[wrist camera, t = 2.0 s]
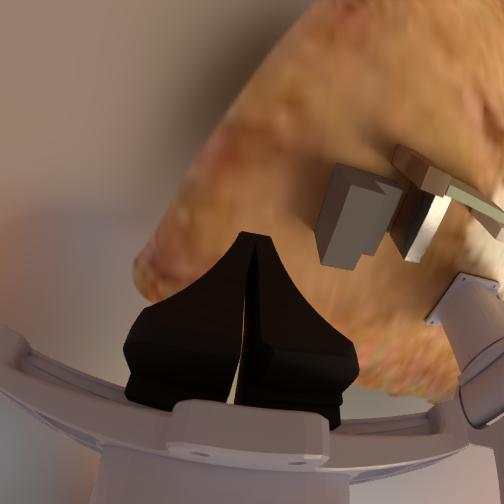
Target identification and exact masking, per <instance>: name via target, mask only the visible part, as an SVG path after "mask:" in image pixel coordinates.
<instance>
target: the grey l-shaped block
mask: <svg viewBox="0 0 504 504" xmlns="http://www.w3.org/2000/svg"><path fill="white" fill-rule="evenodd" d="M451 199H455V200H457V201H459V202H461V203H463V204H465V205H467V206H470V207H472V208H474V209H476V210H478V211H480V212H482V213H484V214H486V215H488V216H490V217H491V218H493V219H495V220H497V221H499V222H501V223H503V224H504V211H503V210H502V209H501V208H499V207H498V206H497V205H496V204H495V203H494V202H493V201H491V200H490V199H489V198H488V197H487V196H485V195H484V194H483V193H482V192H480V191H478V190H476V189H475V188H473V187H471V186H469V185H467V184H465V183H463V182H461V181H459V180H458V179H456V178H454V177H452V178H451V180H450V183H449V185H448V187H447V190H446V192H445V194H444V197H443V198H441V197H439V196H436V195H434V194H431V193H429V192H426V191H424V190H421V189H420V188H419V187H418V186H416V185H415V184H414V183H412V185H411V188H410V190H409V193H408V195H407V197H406V200H405V202H404V205H403V207H402V209H401V211H400V214H399V216H398V218H397V220H396V223H395V225H394V227H393V229H392V231H391V233H390V236H391V238H392V240H393V241H394V243H395V245H396V246H397V248H398V250H399V252H400V253H401V255H402V257H403V259H404V260H407V261H411V262H415V263H419V262H420V260H421V258H422V257H423V255H424V253H425V251H426V249H427V247H428V246H429V244H430V242H431V240H432V238H433V236H434V234H435V232H436V230H437V228H438V226H439V224H440V222H441V220H442V218H443V216H444V214H445V212H446V210H447V208H448V205H449V203H450V201H451Z"/></svg>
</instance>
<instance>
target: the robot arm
mask: <svg viewBox="0 0 504 504" xmlns="http://www.w3.org/2000/svg"><path fill="white" fill-rule="evenodd" d="M499 288H500V283H499V282H495V281H491V280H488V279H484V278H480V277H476V276H472V275H468V274H464V273H460V274H458V275H457V277H456V279H455V280H454V282H453V283H452V285H451V286H450V288H449V289H448V290H447V292H446V293H445V295H444V296H443V298H442V299H441V300H440V302H439V303H438V305H437V306H436V307H435V309H434V310H433V311H432V313H431V314H430V315H429V316H428V318H427V319H426V321H425V323H426V325H436V326H443V329H444V331H445V333H446V336H447V338H448V340H449V343H450V345H451V348H452V350H453V353H454V355H455V358H456V360H457V363H458V366H459V368H460V371H461V374H460V375H459V376H458V377H457V378H458V381H459V385H458V386H457V387H456V389H455V394H454V400H451V401H445V402H441V403H439V404H436V405H435V406H433V407H432V408H431V409H429V410H428V411H427V412H422V413H416V414H409V415H401V416H392V417H382V418H369V419H349V420H348V419H347V420H341V419H340V407H339V406H340V405H342V403H343V399H342V393H343V392H344V391H345V390H346V389H347V388H348V387H349V386H350V385H351V384H352V383H353V382H354V381H355V379H356V378H357V376H358V375H359V370H360V369H359V364H358V358H357V354H356V351H355V348H354V345H353V342H352V341H350V340H349V339H348V338H346V337H345V336H344V335H342V334H341V333H340V332H338V331H337V330H336V329H335V328H333V327H332V326H331V325H330V324H329V323H328V322H327V321H326V320H325V319H323V318H322V317H321V316H320V315H319V314H318V313H317V312H316V311H315V309H314V308H313V307H312V306H311V305H310V304H309V303H308V302H307V301H306V299H305V298H304V297H303V296H302V294H301V293H300V292H299V290H298V289H297V288H296V286H295V285H294V283H293V281H292V280H291V278H290V277H289V275H288V273H287V271H286V270H285V268H284V266H283V264H282V262H281V260H280V258H279V256H278V253H277V251H276V249H275V246H274V244H273V241H272V239H271V237H270V236H265V235H260V234H255V233H249V232H244V231H242V232H240V233H239V235H238V237H237V239H236V240H235V242H234V243H233V245H232V246H231V247H230V248H229V250H228V251H227V252H226V253H225V255H224V256H223V257H222V258H221V259H220V260H219V261H218V262H217V263H216V264H215V265H214V266H213V267H212V268H211V269H210V270H209V271H208V272H206V273H205V274H204V275H203V276H202V277H200V278H199V279H198V280H196V281H195V282H194V283H192V284H191V285H189V286H188V287H186V288H185V289H183V290H182V291H180V292H178V293H176V294H175V295H173V296H171V297H169V298H167V299H165V300H163V301H161V302H159V303H156V304H154V305H152V306H149V307H146V308H144V309H143V311H142V312H141V313H140V315H139V316H138V318H137V319H136V321H135V322H134V324H133V325H132V327H131V329H130V331H129V334H128V336H127V339H126V341H125V343H124V346H123V352H124V356H125V358H126V361H127V364H128V366H129V369H130V372H131V375H130V377H129V380H128V383H127V386H126V388H125V387H122V386H119V385H116V384H113V383H110V382H107V381H104V380H102V379H99V378H96V377H94V376H91V375H89V374H86V373H84V372H81V371H79V370H77V369H74V368H72V367H70V366H67V365H65V364H63V363H60V362H58V361H56V360H54V359H52V358H50V357H47V356H46V355H44V354H42V353H40V352H38V351H36V350H34V349H32V348H31V347H30V344H29V343H28V341H27V340H26V339H25V338H24V337H23V336H22V335H21V334H20V333H18V332H16V331H15V330H13V329H11V328H9V327H8V326H6V325H3V326H2V328H1V329H0V394H1V395H2V396H3V397H4V398H5V399H7V400H8V401H9V402H11V403H12V404H14V405H15V406H16V407H18V408H19V409H21V410H22V411H24V412H25V413H27V414H28V415H30V416H31V417H33V418H35V419H36V420H38V421H39V422H41V423H43V424H44V425H46V426H48V427H50V428H51V429H53V430H55V431H56V432H58V433H60V434H62V435H63V436H66V437H67V438H69V439H71V440H73V441H75V442H77V443H79V444H81V445H83V446H85V447H87V448H89V449H92V450H94V451H96V452H98V453H101V454H102V456H101V459H100V463H99V467H98V471H97V475H96V478H95V482H94V486H93V491H92V495H91V499H90V504H349V485H353V484H359V483H364V482H370V481H374V480H379V479H383V478H388V477H392V476H396V475H400V474H403V473H407V472H410V471H414V470H417V469H420V468H423V467H427V466H430V465H433V464H435V463H437V462H440V461H442V460H444V459H446V458H448V457H450V456H452V455H454V454H456V453H458V452H460V451H462V450H464V449H466V448H468V446H469V443H470V444H472V445H475V446H480V447H486V448H491V449H493V451H494V456H495V460H496V466H497V473H498V480H499V489H500V499H501V504H504V416H503V417H502V418H500V419H499V420H497V421H496V422H494V423H493V424H491V425H486V423H488V422H490V421H491V420H493V419H495V418H496V417H497V416H499V415H500V414H502V413H503V412H504V301H503V299H502V298H501V296H500V295H499V293H498V292H497V291H498V289H499ZM244 298H245V309H244ZM243 311H244V335H243V344H242V329H243ZM241 345H242V351H241ZM240 354H241V359H240ZM239 359H240V366H239V372H238V379H237V386H236V393H235V399H234V404H228V403H226V402H227V399H228V396H229V394H230V390H231V387H232V383H233V380H234V377H235V373H236V370H237V366H238V363H239ZM468 441H469V442H468Z"/></svg>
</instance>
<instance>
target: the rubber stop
mask: <svg viewBox="0 0 504 504" xmlns="http://www.w3.org/2000/svg"><path fill="white" fill-rule="evenodd" d="M402 192H403V190H402V189H401V187H400V186H399V185H398V184H397V183H396V182H395V181H393V180H390V179H387V178H384V177H381V176H378V175H375V174H372V173H368V172H365V171H362V170H359V169H355V168H352V167H349V166H345V165H342V164H338V163H336V166H335V169H334V173H333V176H332V179H331V182H330V185H329V188H328V192H327V195H326V198H325V201H324V204H323V207H322V210H321V213H320V216H319V219H318V222H317V225H316V228H315V231H314V234H315V238H316V243H317V248H318V253H319V258H320V263H321V265H325V266H330V267H336V268H341V269H346V270H351V271H353V270H354V268H355V266H356V264H357V262H358V260H359V258H360V256H361V254H365V255H370V256H374V255H375V253H376V251H377V248H378V246H379V244H380V242H381V240H382V238H383V236H384V234H385V232H386V229H387V227H388V225H389V223H390V221H391V218H392V216H393V214H394V212H395V209H396V207H397V205H398V202H399V200H400V197H401V195H402Z"/></svg>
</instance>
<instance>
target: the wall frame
mask: <svg viewBox="0 0 504 504" xmlns="http://www.w3.org/2000/svg"><path fill="white" fill-rule="evenodd" d="M391 164H393V165H394V166H395V167H396V168H397V169H399V170H400V171H401V172H402V173H403V174H404V175H405V176H407V177H408V178H409V179H410V180H411V181H412V182H413V183H414V184H415V185H416V186H418V187H419V188H420V189H421V190H424V191H426V192H429V193H431V194H434V195H436V196H439V197H441V198H443V197H444V194H445V192H446V190H447V187H448V185H449V183H450V180H451V178H452V176H451V175H450V174H448V173H447V172H446V171H444V170H443V169H441V168H440V167H439V166H437V165H436V164H434V163H433V162H431V161H430V160H428V159H427V158H425V157H424V156H422V155H421V154H419V153H418V152H415V151H413V150H411V149H408V148H406V147H403V146H401V145H398V144H397V147H396V150H395V153H394V156H393V159H392V162H391ZM470 213H471V214H472V215H473V216H474V217H475V218H476V219H477V220H478V221H479V222H480V223H481V224H482V225H483V227H484V228H485V229H486V230H487V231H488V232H489V233H490V234H491V235H492V236H493V237H494V238H495V239H496V240H498V241H500V242H502V243H504V224H503V223H501V222H499V221H497V220H495V219H493V218H491V217H490V216H488V215H486V214H484V213H482V212H480V211H478V210H476V209H474V208H472V210H471V212H470Z"/></svg>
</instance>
